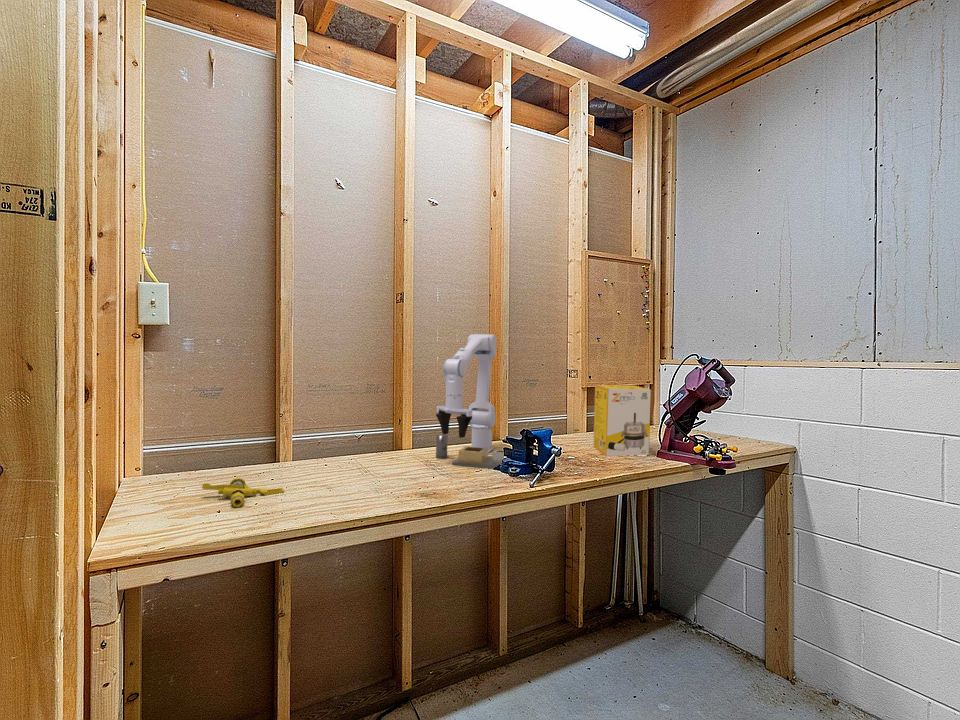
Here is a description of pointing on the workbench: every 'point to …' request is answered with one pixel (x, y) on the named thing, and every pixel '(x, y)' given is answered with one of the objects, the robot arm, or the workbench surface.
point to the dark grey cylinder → (441, 446)
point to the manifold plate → (478, 457)
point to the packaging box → (622, 420)
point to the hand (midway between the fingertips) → (453, 435)
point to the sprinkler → (239, 490)
